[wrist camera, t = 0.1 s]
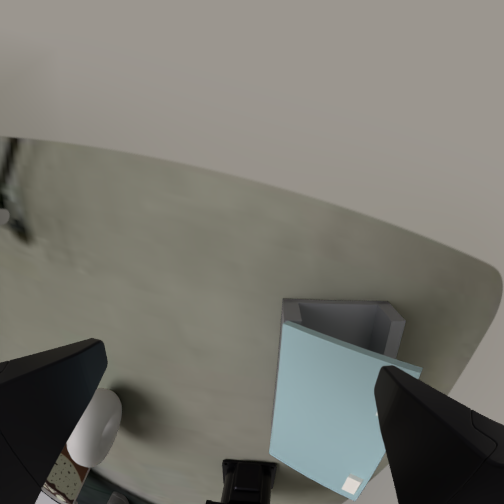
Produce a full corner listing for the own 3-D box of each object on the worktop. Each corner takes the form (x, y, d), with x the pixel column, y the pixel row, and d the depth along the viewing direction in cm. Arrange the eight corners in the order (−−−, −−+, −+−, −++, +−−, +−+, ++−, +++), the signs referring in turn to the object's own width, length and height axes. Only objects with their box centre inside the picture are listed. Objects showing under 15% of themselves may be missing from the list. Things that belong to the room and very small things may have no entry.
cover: (358, 496, 15) (352, 504, 15) (273, 450, 22) (265, 455, 21) (422, 367, 12) (418, 376, 12) (288, 320, 19) (278, 325, 18)
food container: (35, 422, 32) (6, 454, 22) (53, 425, 31) (23, 462, 21) (74, 468, 34) (53, 501, 24) (95, 473, 33) (73, 510, 23)
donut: (125, 431, 28) (93, 485, 19) (101, 419, 28) (66, 470, 19) (130, 380, 26) (86, 443, 16) (103, 366, 26) (53, 422, 16)
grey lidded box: (355, 420, 25) (363, 446, 21) (271, 421, 26) (270, 449, 22) (387, 301, 22) (405, 320, 18) (282, 298, 23) (283, 320, 19)
